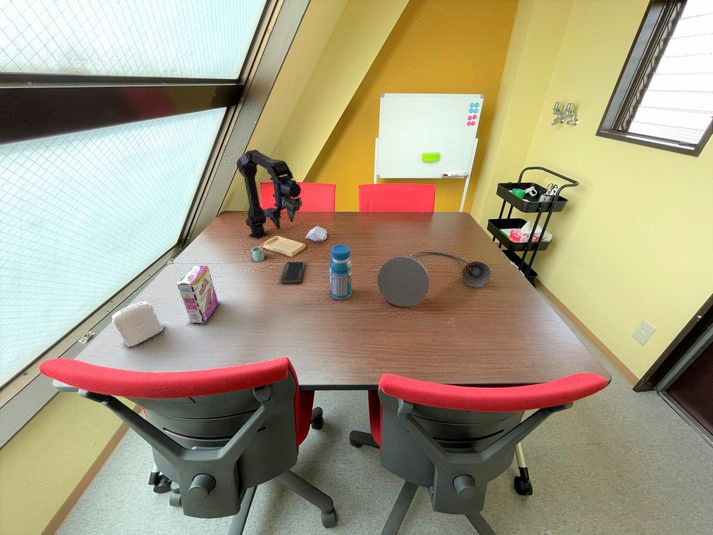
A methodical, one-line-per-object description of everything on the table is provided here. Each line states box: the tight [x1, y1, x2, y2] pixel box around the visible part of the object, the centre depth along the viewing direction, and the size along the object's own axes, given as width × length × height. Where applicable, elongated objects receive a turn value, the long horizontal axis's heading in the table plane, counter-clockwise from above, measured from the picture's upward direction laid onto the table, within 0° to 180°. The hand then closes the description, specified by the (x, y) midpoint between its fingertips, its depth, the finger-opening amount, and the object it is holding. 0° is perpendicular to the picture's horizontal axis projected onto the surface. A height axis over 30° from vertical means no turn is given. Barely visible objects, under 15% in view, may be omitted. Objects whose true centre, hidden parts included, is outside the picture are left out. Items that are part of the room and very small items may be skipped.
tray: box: [262, 235, 306, 258], centre depth 143 cm, size 19×11×2 cm, turn 62°
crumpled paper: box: [304, 225, 328, 242], centre depth 150 cm, size 9×7×13 cm
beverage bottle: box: [329, 244, 353, 300], centre depth 107 cm, size 8×8×20 cm
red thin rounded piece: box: [258, 241, 266, 251], centre depth 130 cm, size 7×1×10 cm, turn 62°
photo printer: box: [111, 300, 164, 348], centre depth 89 cm, size 10×4×12 cm, turn 140°
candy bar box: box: [176, 265, 219, 324], centre depth 98 cm, size 11×5×16 cm, turn 178°
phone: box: [281, 261, 305, 284], centre depth 123 cm, size 8×1×15 cm
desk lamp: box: [377, 250, 492, 308], centre depth 120 cm, size 18×45×40 cm
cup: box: [251, 246, 265, 262], centre depth 132 cm, size 5×5×5 cm
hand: (285, 225), depth 132 cm, fingers open, 9 cm apart
